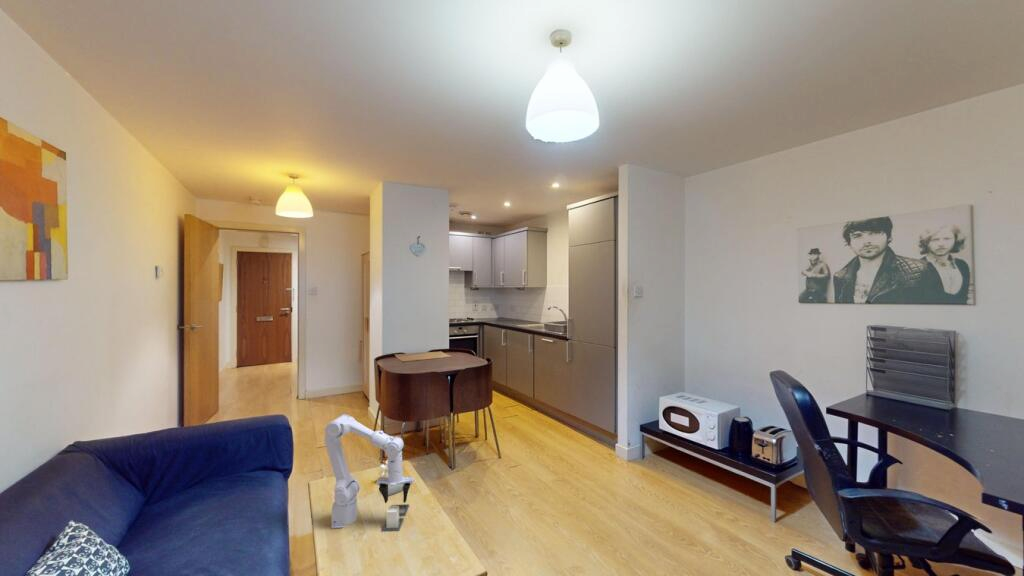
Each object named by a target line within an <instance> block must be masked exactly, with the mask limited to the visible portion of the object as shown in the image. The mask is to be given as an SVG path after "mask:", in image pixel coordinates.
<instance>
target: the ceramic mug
mask: <svg viewBox="0 0 1024 576" xmlns="http://www.w3.org/2000/svg"><path fill="white" fill-rule="evenodd" d="M403 486H404V484H397V485H395V486H390V485H389V484H388V497H390V496H392V495H395V494H398V493H400V492H403Z"/></svg>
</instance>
